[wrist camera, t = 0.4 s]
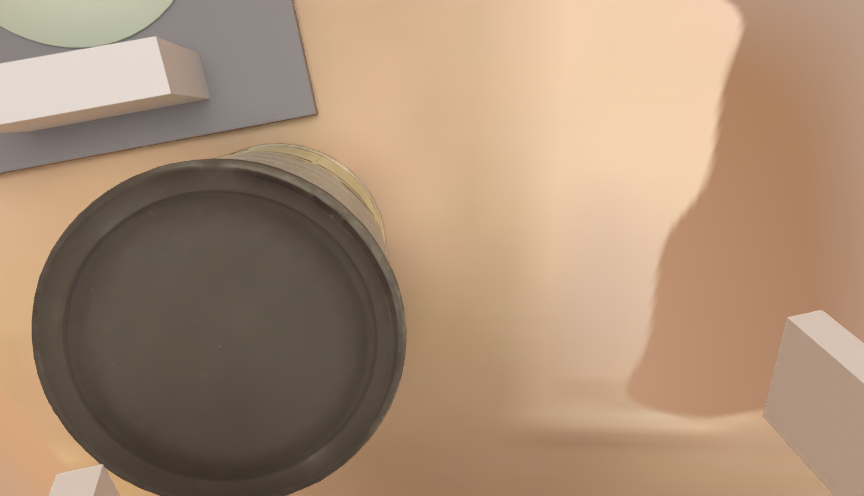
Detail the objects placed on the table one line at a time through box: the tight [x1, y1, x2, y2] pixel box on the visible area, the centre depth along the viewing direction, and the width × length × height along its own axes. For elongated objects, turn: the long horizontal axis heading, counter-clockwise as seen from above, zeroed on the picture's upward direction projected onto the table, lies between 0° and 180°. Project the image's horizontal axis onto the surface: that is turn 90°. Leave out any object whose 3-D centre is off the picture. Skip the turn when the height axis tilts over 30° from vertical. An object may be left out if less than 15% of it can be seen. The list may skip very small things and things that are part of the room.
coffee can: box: [32, 144, 406, 496], centre depth 25 cm, size 10×10×14 cm
